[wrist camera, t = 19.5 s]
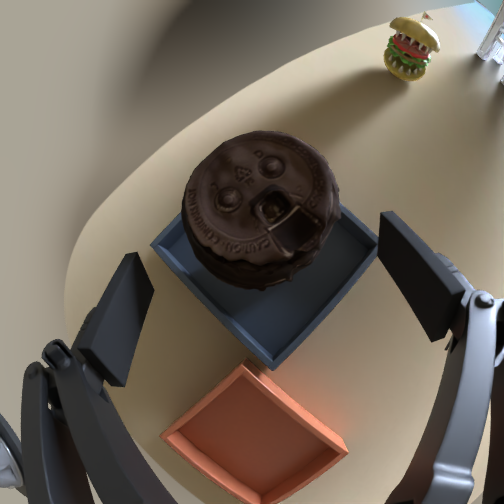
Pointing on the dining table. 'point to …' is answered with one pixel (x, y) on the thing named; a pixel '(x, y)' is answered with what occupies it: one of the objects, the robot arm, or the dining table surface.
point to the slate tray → (276, 288)
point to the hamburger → (410, 48)
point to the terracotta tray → (254, 438)
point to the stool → (494, 39)
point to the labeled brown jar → (260, 209)
